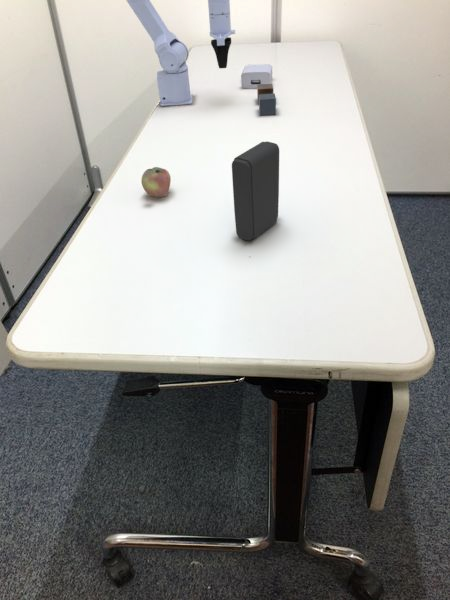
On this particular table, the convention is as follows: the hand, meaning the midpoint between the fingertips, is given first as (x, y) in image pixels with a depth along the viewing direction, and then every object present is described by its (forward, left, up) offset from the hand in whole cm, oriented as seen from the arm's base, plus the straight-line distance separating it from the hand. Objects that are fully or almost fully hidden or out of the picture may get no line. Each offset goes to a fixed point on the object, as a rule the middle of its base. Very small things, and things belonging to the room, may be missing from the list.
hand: (222, 67), depth 133 cm
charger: (+11, +18, -10) cm, 23 cm away
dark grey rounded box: (+6, -72, -10) cm, 73 cm away
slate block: (+12, -12, -9) cm, 19 cm away
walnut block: (+12, -3, -9) cm, 16 cm away
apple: (-14, -57, -10) cm, 59 cm away
